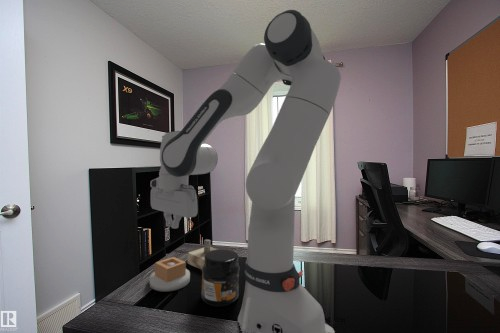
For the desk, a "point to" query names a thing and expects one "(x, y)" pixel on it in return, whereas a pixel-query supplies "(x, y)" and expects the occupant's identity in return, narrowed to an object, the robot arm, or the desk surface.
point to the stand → (199, 255)
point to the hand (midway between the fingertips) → (172, 227)
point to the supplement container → (220, 277)
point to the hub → (171, 285)
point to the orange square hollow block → (170, 269)
